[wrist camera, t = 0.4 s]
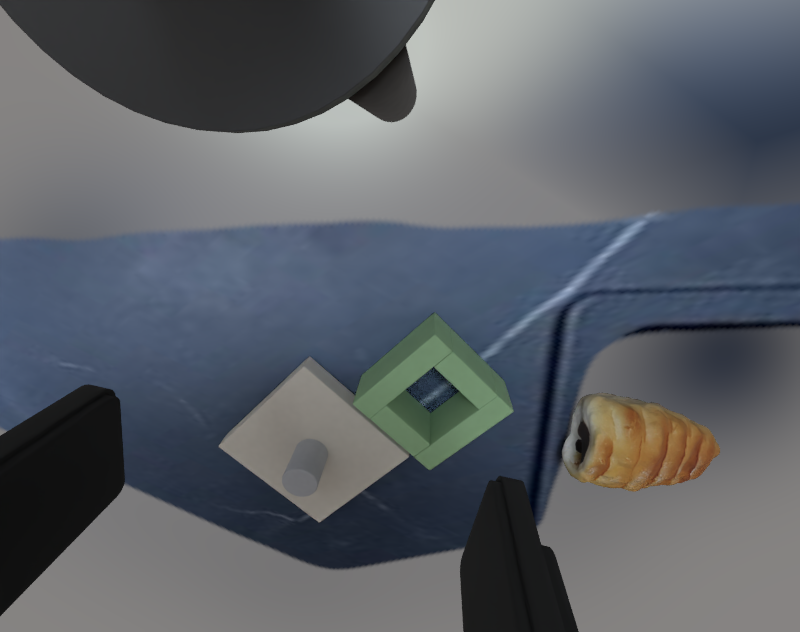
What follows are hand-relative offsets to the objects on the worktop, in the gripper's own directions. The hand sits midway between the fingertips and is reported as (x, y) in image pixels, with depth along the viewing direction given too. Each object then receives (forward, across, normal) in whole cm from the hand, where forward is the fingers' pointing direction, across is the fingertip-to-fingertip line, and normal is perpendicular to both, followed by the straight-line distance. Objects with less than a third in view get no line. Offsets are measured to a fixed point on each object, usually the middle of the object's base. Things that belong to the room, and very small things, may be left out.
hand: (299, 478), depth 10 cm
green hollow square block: (+17, -4, +6) cm, 18 cm away
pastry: (+17, -18, +6) cm, 26 cm away
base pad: (+17, +3, +13) cm, 22 cm away
